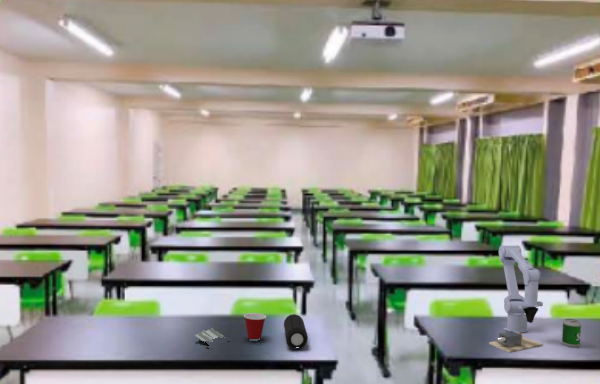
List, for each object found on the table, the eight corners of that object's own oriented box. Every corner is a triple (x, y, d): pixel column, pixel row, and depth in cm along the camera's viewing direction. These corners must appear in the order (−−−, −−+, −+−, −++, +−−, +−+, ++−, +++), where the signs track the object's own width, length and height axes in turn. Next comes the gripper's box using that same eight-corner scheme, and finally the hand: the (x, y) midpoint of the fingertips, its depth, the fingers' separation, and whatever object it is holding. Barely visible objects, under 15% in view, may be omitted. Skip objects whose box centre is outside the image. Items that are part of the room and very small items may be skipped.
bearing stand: (521, 337, 254) (522, 326, 254) (542, 345, 244) (543, 333, 243) (488, 343, 245) (489, 331, 244) (509, 352, 234) (509, 340, 234)
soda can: (573, 349, 240) (574, 323, 239) (558, 343, 246) (559, 319, 246) (583, 346, 243) (584, 321, 242) (568, 341, 250) (569, 317, 249)
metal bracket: (191, 332, 238) (213, 323, 251) (188, 343, 240) (211, 334, 252) (212, 347, 231) (235, 337, 243) (210, 358, 232) (232, 348, 245)
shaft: (515, 338, 247) (516, 331, 246) (522, 341, 243) (522, 333, 243) (495, 342, 241) (495, 335, 240) (501, 345, 237) (501, 337, 237)
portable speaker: (283, 332, 257) (283, 312, 256) (303, 332, 258) (303, 312, 257) (286, 351, 231) (286, 329, 231) (308, 351, 232) (308, 329, 232)
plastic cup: (270, 339, 246) (271, 315, 245) (254, 345, 238) (254, 320, 237) (255, 334, 253) (255, 310, 252) (238, 339, 245) (238, 314, 244)
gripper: (527, 298, 241) (526, 326, 242) (548, 294, 248) (547, 322, 248) (515, 294, 248) (513, 322, 248) (536, 291, 254) (535, 318, 255)
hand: (529, 322), depth 249 cm, fingers closed
